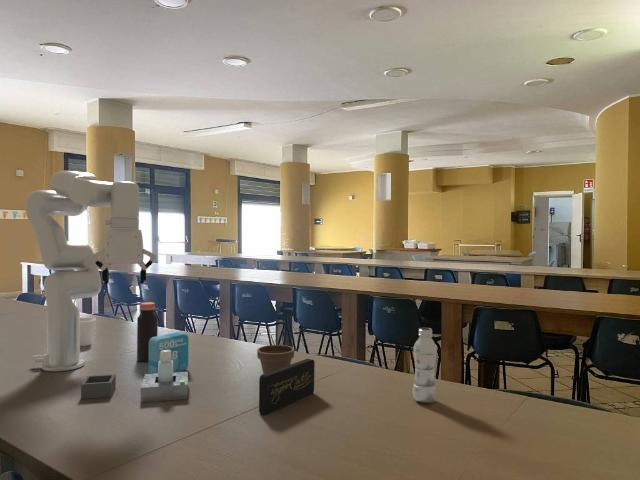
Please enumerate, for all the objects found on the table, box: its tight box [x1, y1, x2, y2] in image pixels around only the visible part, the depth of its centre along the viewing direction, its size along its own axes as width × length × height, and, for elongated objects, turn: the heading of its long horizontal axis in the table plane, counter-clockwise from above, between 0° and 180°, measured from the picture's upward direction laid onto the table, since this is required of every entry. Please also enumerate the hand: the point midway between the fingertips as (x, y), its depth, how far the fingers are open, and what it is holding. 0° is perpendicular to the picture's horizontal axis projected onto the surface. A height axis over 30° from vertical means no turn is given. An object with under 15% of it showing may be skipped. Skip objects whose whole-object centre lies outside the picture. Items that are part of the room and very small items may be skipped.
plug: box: [158, 350, 173, 383], centre depth 133 cm, size 4×4×12 cm
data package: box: [148, 332, 190, 374], centre depth 152 cm, size 12×4×12 cm, turn 142°
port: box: [140, 371, 189, 404], centre depth 133 cm, size 12×12×5 cm
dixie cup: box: [80, 316, 96, 347], centre depth 187 cm, size 8×8×10 cm
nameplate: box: [258, 358, 316, 416], centre depth 127 cm, size 21×2×10 cm, turn 144°
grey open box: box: [80, 373, 117, 400], centre depth 132 cm, size 8×8×4 cm
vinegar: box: [136, 301, 159, 363], centre depth 167 cm, size 7×7×20 cm
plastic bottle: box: [412, 327, 438, 404], centre depth 130 cm, size 6×7×20 cm
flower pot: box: [256, 344, 295, 374], centre depth 145 cm, size 12×11×10 cm
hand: (124, 283), depth 137 cm, fingers open, 9 cm apart
